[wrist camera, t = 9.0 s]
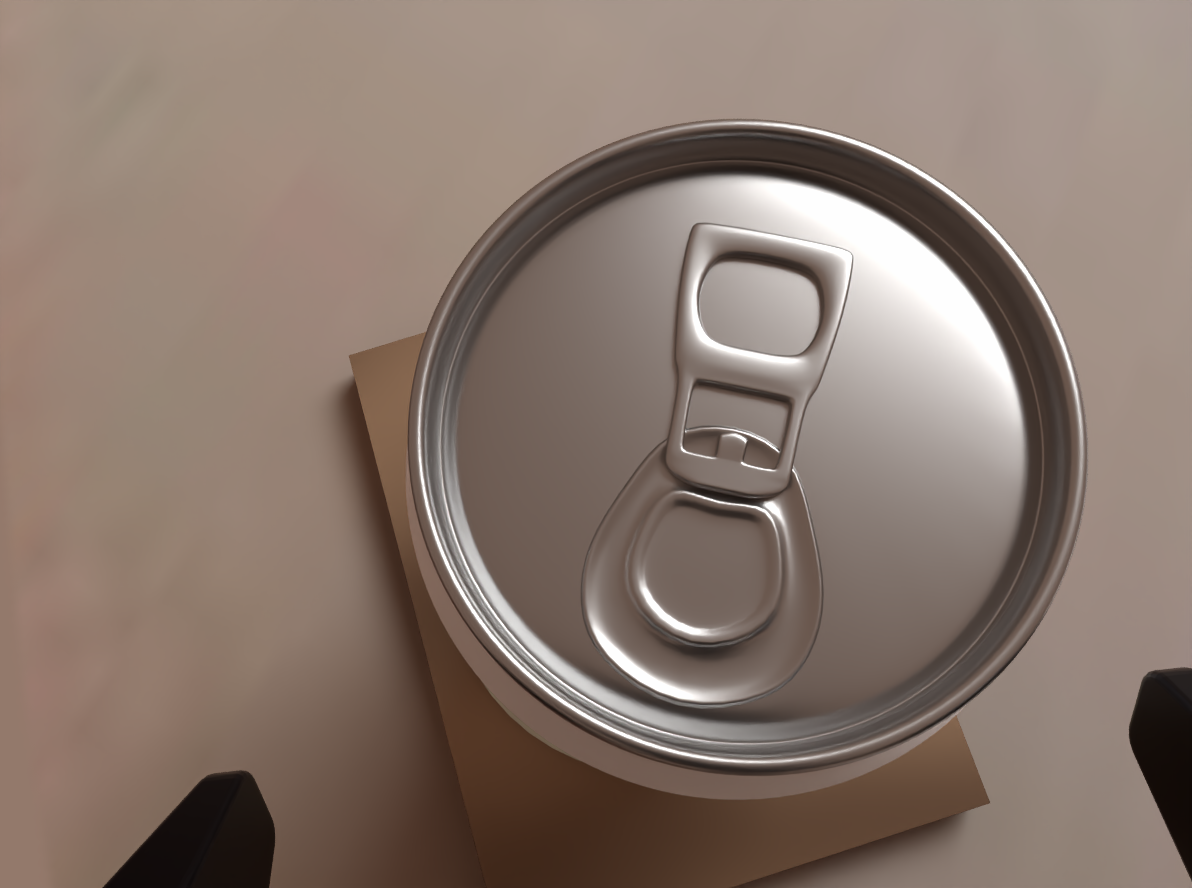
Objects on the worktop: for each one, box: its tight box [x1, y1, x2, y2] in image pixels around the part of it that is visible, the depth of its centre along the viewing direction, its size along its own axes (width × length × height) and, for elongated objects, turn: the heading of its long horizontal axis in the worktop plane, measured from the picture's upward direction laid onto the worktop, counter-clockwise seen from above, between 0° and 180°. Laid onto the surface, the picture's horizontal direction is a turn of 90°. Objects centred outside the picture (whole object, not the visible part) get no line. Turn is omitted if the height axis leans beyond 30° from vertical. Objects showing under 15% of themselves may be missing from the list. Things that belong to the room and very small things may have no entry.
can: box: [406, 119, 1088, 800], centre depth 13 cm, size 6×6×12 cm
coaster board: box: [349, 332, 990, 888], centre depth 20 cm, size 13×10×1 cm
